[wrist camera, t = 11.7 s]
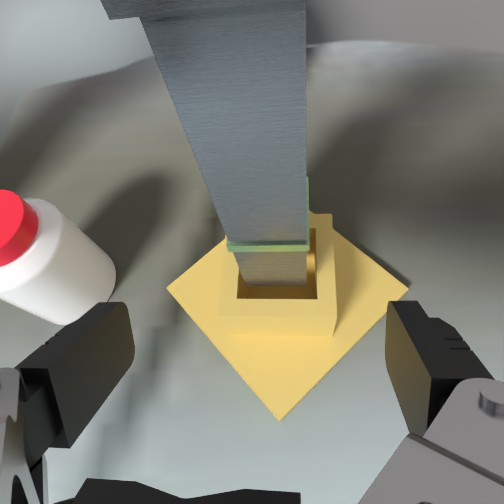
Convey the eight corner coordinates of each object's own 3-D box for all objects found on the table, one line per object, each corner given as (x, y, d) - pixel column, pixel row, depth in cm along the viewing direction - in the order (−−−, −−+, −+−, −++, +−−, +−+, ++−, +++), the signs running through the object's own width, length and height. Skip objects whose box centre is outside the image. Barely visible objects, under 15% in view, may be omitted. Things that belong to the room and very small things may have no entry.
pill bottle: (54, 343, 32) (-58, 301, 22) (25, 279, 35) (-84, 218, 25) (130, 289, 33) (57, 226, 23) (95, 233, 36) (18, 158, 27)
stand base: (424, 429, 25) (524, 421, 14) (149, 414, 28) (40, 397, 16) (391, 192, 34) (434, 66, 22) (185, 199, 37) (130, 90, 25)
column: (314, 293, 24) (333, -74, 7) (238, 293, 24) (81, -41, 7) (312, 220, 26) (323, -184, 9) (243, 222, 27) (135, -150, 10)
